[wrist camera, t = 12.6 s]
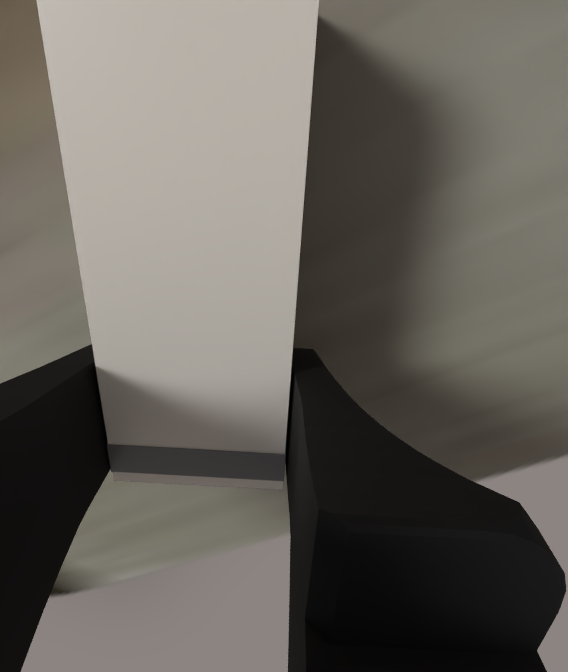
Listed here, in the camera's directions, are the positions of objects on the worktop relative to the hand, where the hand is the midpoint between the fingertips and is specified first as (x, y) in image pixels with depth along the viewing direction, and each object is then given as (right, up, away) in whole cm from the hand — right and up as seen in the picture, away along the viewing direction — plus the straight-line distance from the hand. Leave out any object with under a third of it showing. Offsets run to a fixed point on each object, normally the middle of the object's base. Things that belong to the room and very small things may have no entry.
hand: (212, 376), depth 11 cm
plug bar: (0, +4, 0) cm, 4 cm away
